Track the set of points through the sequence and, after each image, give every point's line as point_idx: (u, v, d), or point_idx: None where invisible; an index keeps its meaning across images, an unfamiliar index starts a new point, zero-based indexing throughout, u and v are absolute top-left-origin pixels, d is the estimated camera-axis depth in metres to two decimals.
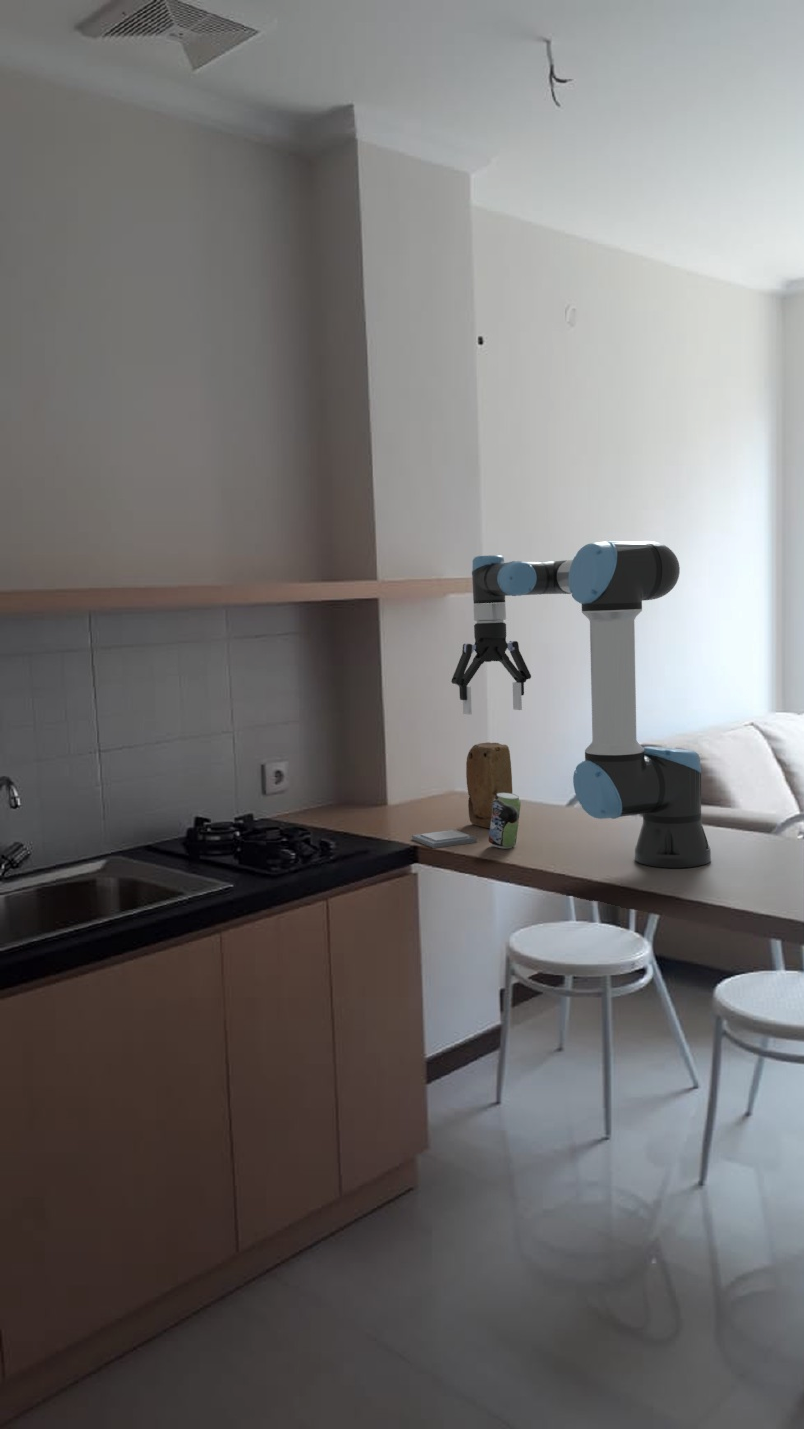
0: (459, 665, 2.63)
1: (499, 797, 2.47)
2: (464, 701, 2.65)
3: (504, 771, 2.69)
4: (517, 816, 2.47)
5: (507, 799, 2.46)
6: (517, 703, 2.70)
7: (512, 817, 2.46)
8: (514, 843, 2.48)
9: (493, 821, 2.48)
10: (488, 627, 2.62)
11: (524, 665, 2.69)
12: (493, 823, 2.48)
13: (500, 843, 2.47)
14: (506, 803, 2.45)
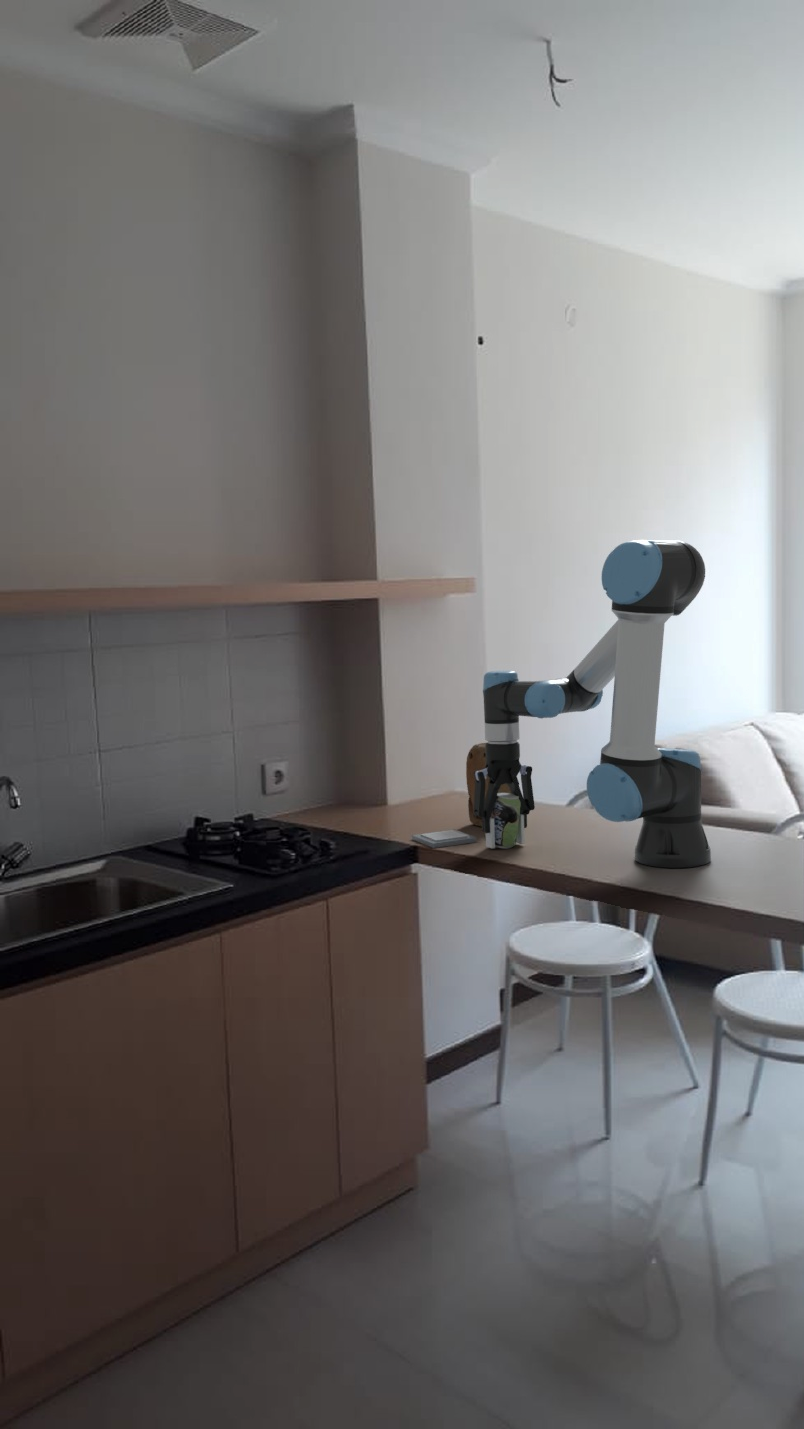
0: (477, 796, 2.46)
1: (499, 797, 2.47)
2: (487, 833, 2.48)
3: None
4: (517, 816, 2.47)
5: (507, 799, 2.46)
6: (519, 836, 2.50)
7: (512, 817, 2.46)
8: (514, 843, 2.48)
9: None
10: (500, 749, 2.44)
11: (531, 794, 2.50)
12: None
13: (500, 843, 2.47)
14: (506, 803, 2.45)
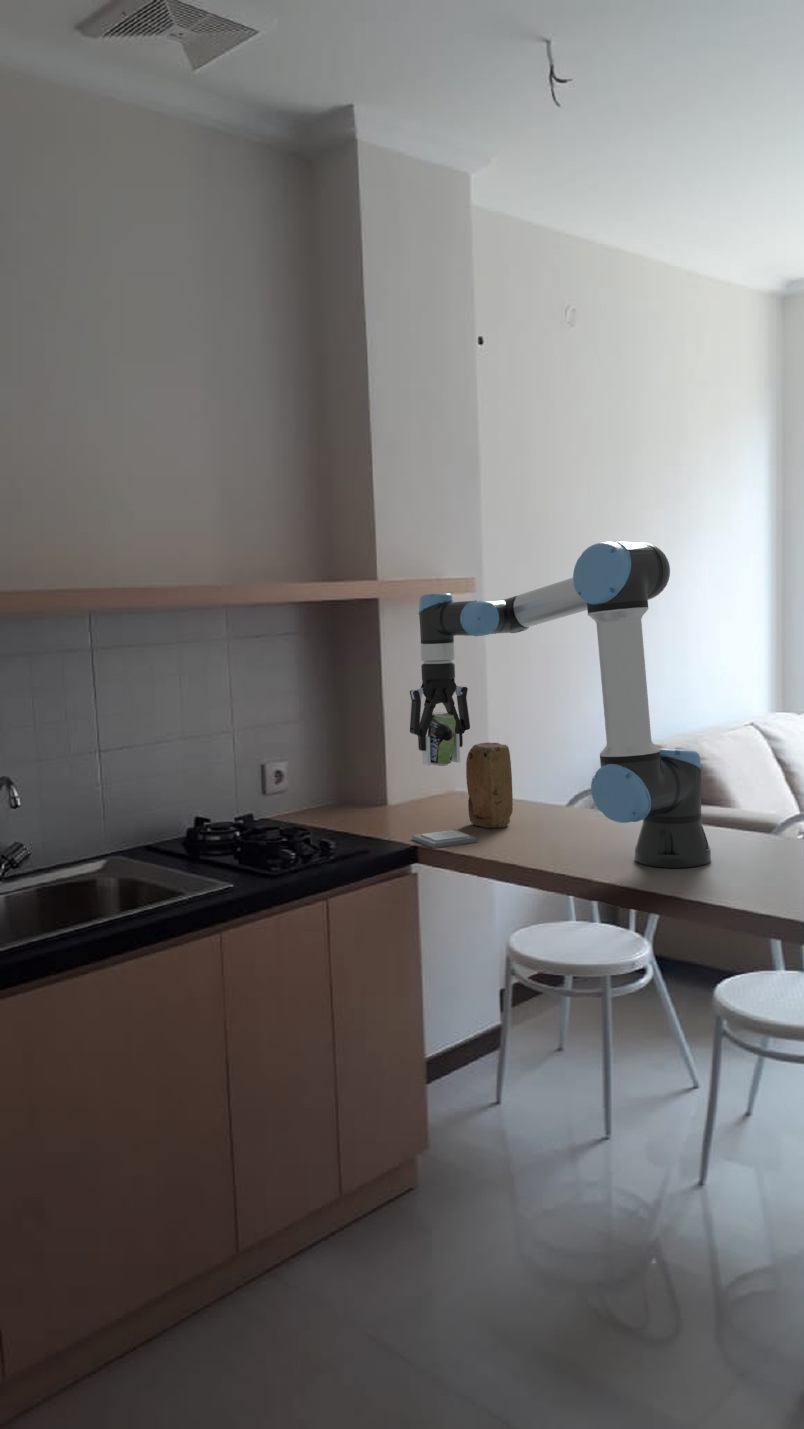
0: (413, 714, 2.53)
1: (434, 715, 2.54)
2: (423, 751, 2.56)
3: (504, 771, 2.69)
4: (452, 734, 2.55)
5: (442, 717, 2.53)
6: (455, 755, 2.58)
7: (447, 735, 2.54)
8: (449, 761, 2.56)
9: None
10: (435, 668, 2.51)
11: (466, 714, 2.58)
12: None
13: (435, 760, 2.55)
14: (441, 721, 2.53)
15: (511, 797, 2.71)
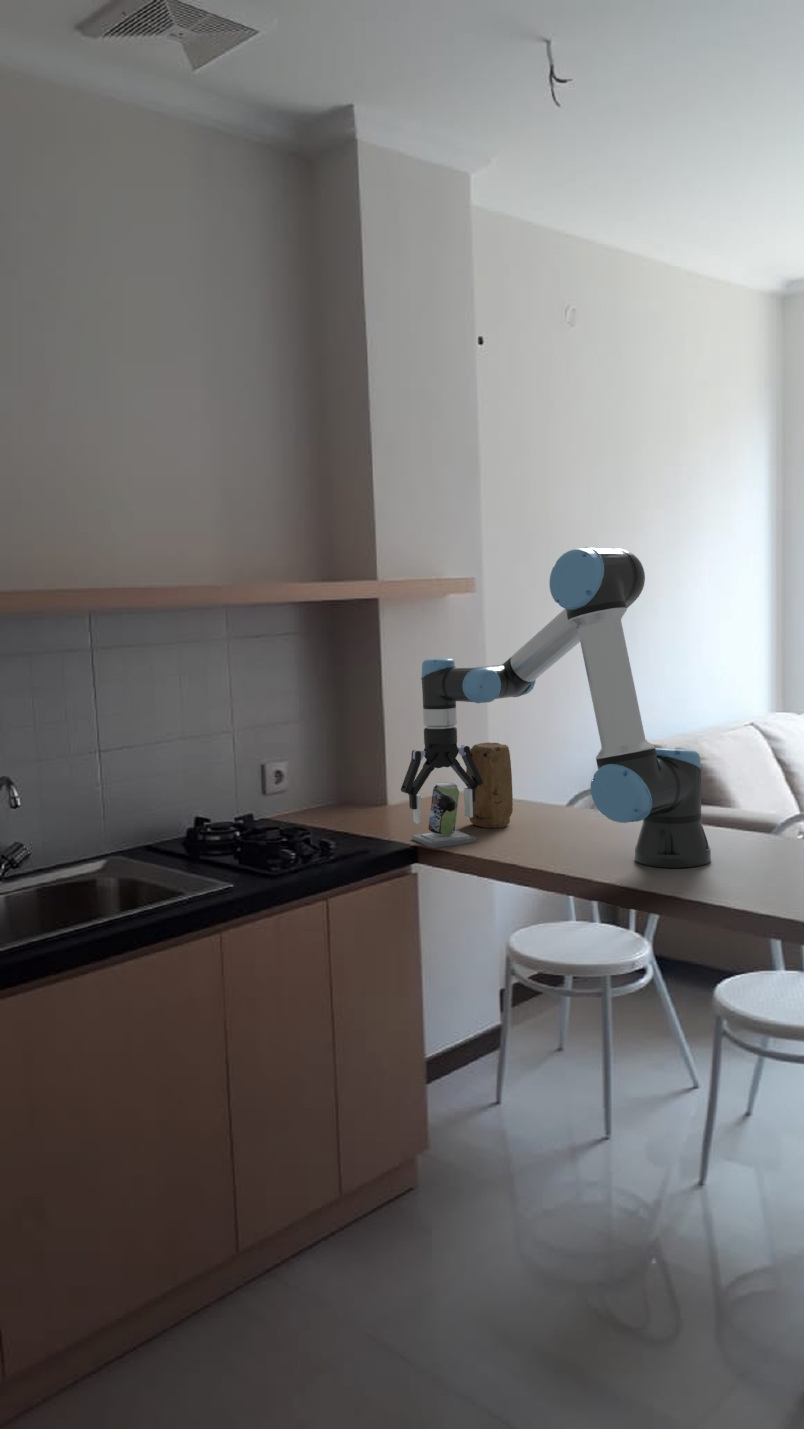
0: (409, 773, 2.54)
1: (438, 786, 2.56)
2: (414, 810, 2.56)
3: (504, 771, 2.69)
4: (455, 805, 2.56)
5: (445, 788, 2.55)
6: (468, 810, 2.60)
7: (451, 805, 2.55)
8: (452, 831, 2.57)
9: (432, 809, 2.57)
10: (437, 734, 2.53)
11: (476, 771, 2.60)
12: (432, 812, 2.57)
13: (438, 831, 2.56)
14: (444, 793, 2.55)
15: (511, 797, 2.71)
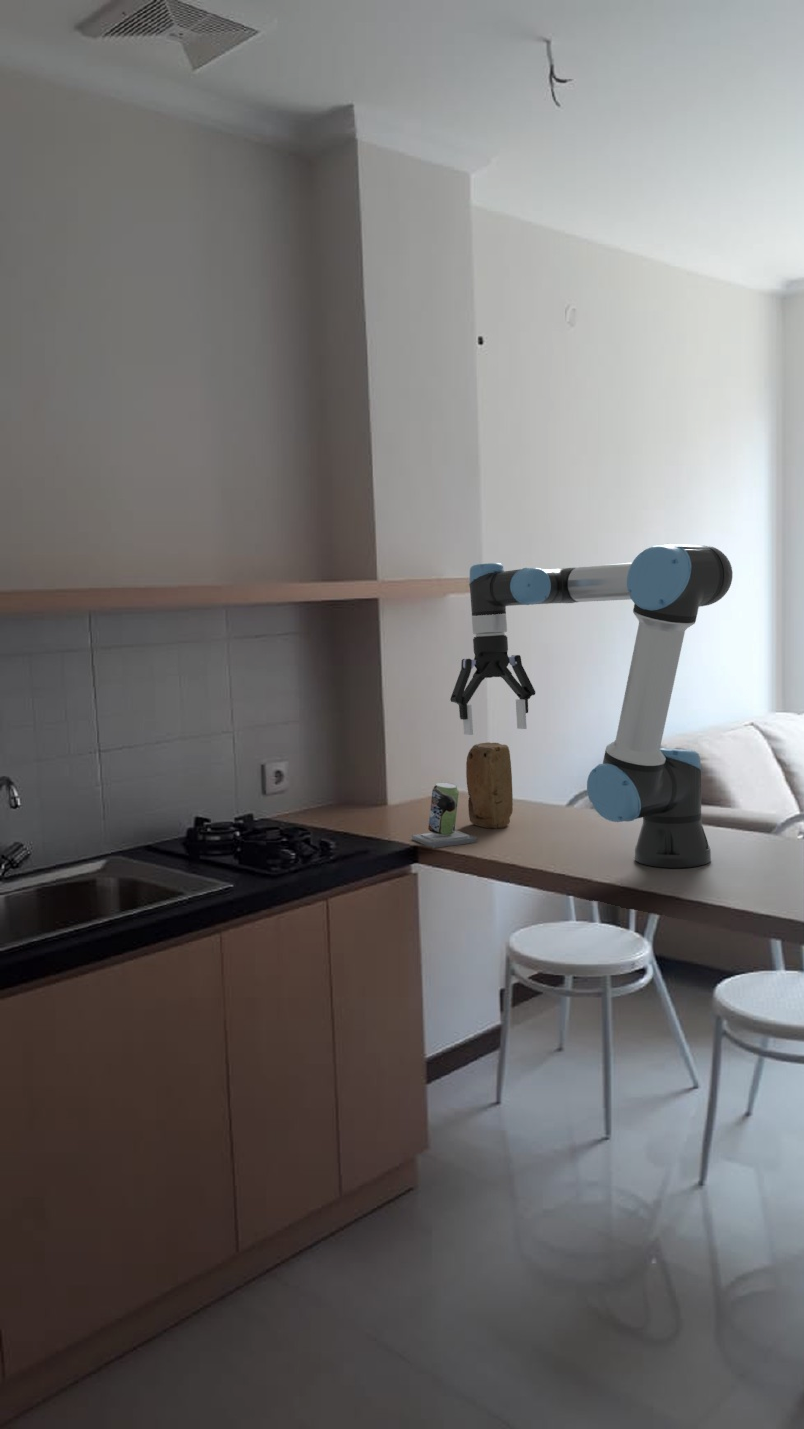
0: (459, 682, 2.44)
1: (437, 786, 2.56)
2: (464, 721, 2.46)
3: (504, 771, 2.69)
4: (455, 805, 2.56)
5: (445, 788, 2.55)
6: (521, 721, 2.51)
7: (450, 805, 2.55)
8: (452, 831, 2.57)
9: (431, 809, 2.57)
10: (488, 640, 2.44)
11: (528, 680, 2.51)
12: (431, 812, 2.57)
13: (438, 831, 2.56)
14: (444, 793, 2.55)
15: (511, 797, 2.71)
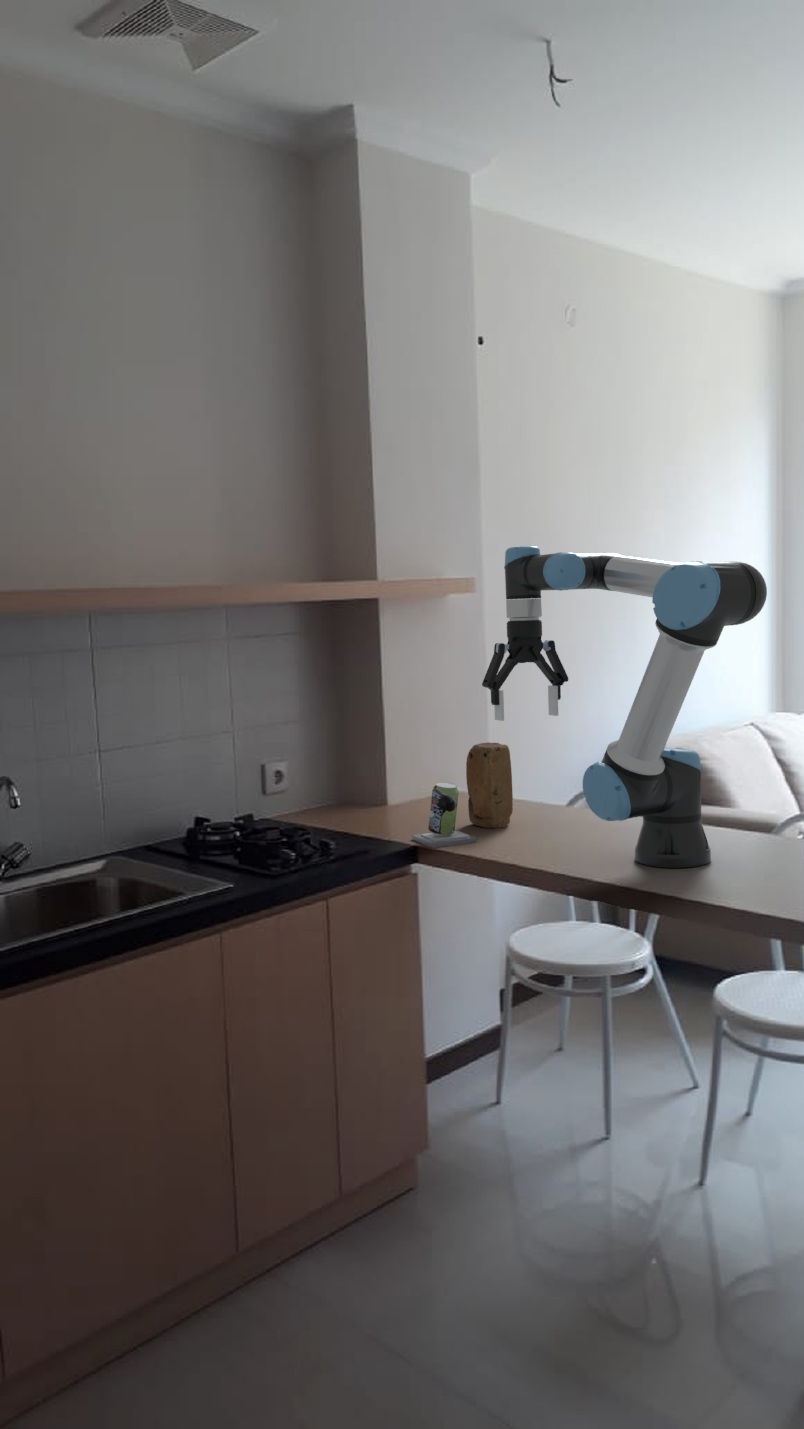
0: (491, 667, 2.40)
1: (437, 786, 2.56)
2: (496, 706, 2.42)
3: (504, 771, 2.69)
4: (455, 805, 2.56)
5: (445, 788, 2.55)
6: (553, 708, 2.47)
7: (450, 805, 2.55)
8: (452, 831, 2.57)
9: (431, 809, 2.57)
10: (522, 625, 2.39)
11: (561, 667, 2.46)
12: (431, 812, 2.57)
13: (438, 831, 2.56)
14: (444, 793, 2.55)
15: (511, 797, 2.71)
